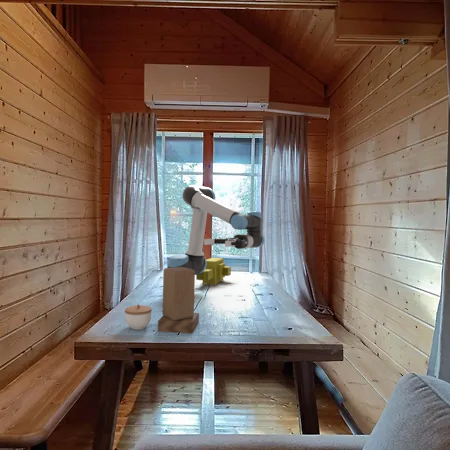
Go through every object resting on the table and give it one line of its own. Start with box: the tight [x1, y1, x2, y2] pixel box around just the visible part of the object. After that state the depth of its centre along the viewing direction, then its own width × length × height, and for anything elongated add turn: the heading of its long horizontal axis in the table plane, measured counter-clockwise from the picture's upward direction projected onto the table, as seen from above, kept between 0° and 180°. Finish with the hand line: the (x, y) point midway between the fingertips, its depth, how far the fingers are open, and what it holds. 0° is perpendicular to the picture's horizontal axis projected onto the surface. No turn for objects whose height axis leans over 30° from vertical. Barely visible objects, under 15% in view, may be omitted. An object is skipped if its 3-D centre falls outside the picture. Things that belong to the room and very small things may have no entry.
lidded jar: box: [124, 303, 153, 331], centre depth 141 cm, size 11×11×9 cm
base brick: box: [157, 312, 200, 334], centre depth 143 cm, size 14×14×5 cm
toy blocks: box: [195, 257, 232, 286], centre depth 239 cm, size 35×16×16 cm
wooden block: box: [162, 267, 196, 321], centre depth 142 cm, size 10×10×20 cm
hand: (214, 242), depth 162 cm, fingers open, 13 cm apart
